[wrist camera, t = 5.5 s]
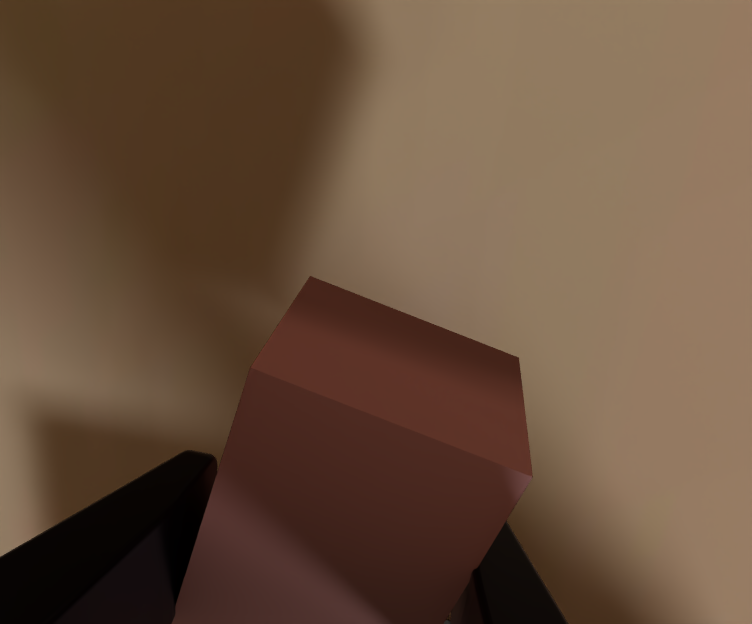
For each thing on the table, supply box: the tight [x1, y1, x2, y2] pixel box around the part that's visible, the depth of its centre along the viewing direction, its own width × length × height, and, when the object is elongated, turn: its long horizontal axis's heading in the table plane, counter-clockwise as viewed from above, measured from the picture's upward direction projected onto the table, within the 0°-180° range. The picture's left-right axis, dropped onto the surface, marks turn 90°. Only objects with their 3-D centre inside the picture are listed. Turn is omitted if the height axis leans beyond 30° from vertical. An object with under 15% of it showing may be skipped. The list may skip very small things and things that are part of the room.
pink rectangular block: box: [172, 276, 533, 624], centre depth 9 cm, size 5×3×2 cm, turn 160°
